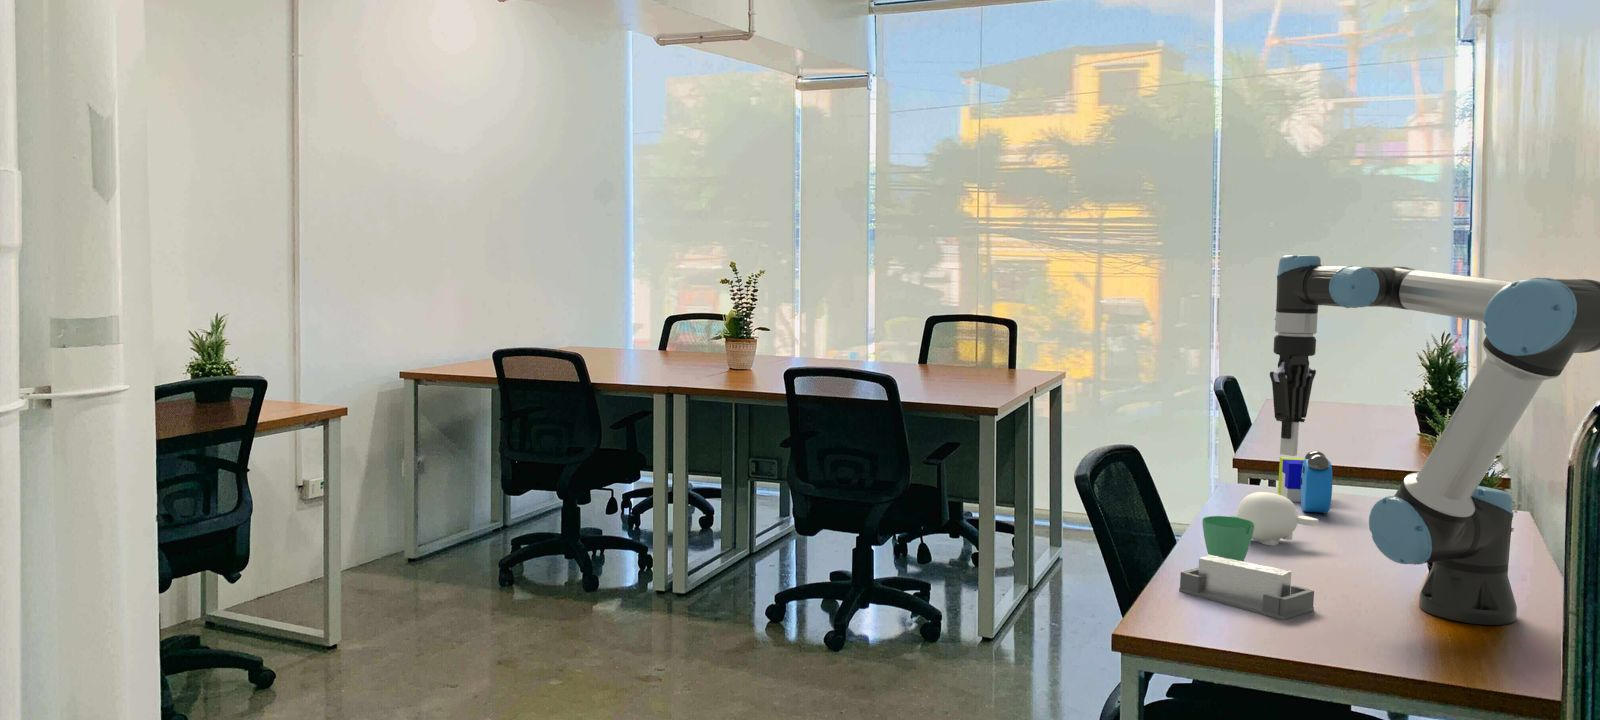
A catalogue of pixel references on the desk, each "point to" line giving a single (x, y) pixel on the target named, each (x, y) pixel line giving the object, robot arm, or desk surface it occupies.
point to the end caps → (1271, 606)
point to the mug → (1227, 536)
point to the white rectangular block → (1242, 579)
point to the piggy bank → (1271, 517)
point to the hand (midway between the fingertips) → (1288, 454)
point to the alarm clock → (1316, 483)
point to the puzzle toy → (1290, 478)
